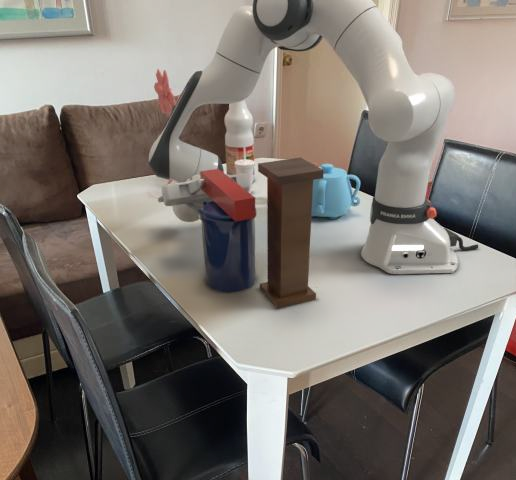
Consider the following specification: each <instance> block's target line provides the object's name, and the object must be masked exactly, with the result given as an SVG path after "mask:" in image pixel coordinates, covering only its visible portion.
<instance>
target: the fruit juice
mask: <svg viewBox="0 0 516 480" xmlns="http://www.w3.org/2000/svg"><path fill="white" fill-rule="evenodd" d="M253 125H254V117H253V115H252V113H251V111H250V110H249V108H248V105H247V103H246V99H244V100H242V101H240V102H237V103H231V104H229V108H228V110H227V112H226V114H225V115H224V126H225V130H226V132H225V135H224V148H225V167H226V168H225V169H226V175H236V174H237V173H236V167H235V166H234V165H235V161H237V160H243V159H244V147H245V152H246V159H247V160H253V161H254V162H255V139H254V138H255V137H254V133H253ZM255 175H256V174H255V170H254V171H253V181H252V183H253V182H254V181H255V177H256V176H255Z"/></svg>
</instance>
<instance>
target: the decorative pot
mask: <svg viewBox="0 0 516 480" xmlns="http://www.w3.org/2000/svg"><path fill="white" fill-rule="evenodd" d="M318 167H319V168H321V169H323V170H324V173H323V178H321V179H315V180H313V195H312V215H311V218H314V217H320V218H321V217H323V218H329V219H330V220H337V219H338V218H339V217H341V216H344V215H346V214H347V212H348V211H349V210H350V208H351V207H358V206H359V205H360V204H361V199H360V197H359V196H357V195H358V194H359V193H358V192H359V190H360V187H361V180H360V178H359V177H358V176H357V175H354V174H348V172H347V171H346V170H345V169H343V168H340V167H334V165H333V164H332V163H323V164H321V166H318ZM351 180H353V181H355V182H356V186H355V189H354V191H353V189H352V183H351ZM355 201H356V202H355Z"/></svg>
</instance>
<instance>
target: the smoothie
mask: <svg viewBox="0 0 516 480" xmlns="http://www.w3.org/2000/svg"><path fill="white" fill-rule="evenodd" d="M234 166H235V167H236V173H237V174H242V173H246V174H247V175H248V177H249V181H250V190H249V191H248V192H249V193H250V194H251V195H252V190H253V182H254V181H253V171H254V172H255V166H256V162H255V160H254V161H253V160H247V159H246V152H245V147H244V159H243V160H237V161H235V165H234ZM252 181H253V182H252Z"/></svg>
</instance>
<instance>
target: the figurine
mask: <svg viewBox="0 0 516 480" xmlns="http://www.w3.org/2000/svg"><path fill="white" fill-rule="evenodd" d="M155 77H156V80H157V81H156V82H154V85H153V89H154V92H156V94H157V99H158V102H157V103H156V104H155V106H154V108H157V107H158V106H159V108H160V112H161V113H162V114H163V115H164V114H165V112H166V114H167V115H168V117H170V115H171V113H172V111H173V108H172V104H173V105H174V106H175V105H176V103H177V101H178V99H179V97H180V95H181V93H182V92H183V90H182V92H181V93H179V95H178V97H177V99H176V100H175V96H174V95H175V94H174V93H173V92H172V88H171V87H170V83H169V82H170V80H169V77H168V72H167V71H166V69H163V72H161V70H160V69H159V68H157V69H156V73H155ZM190 118H191V116H190V117H189V119H190ZM172 182H174V181H173V180H170V179H169V180H168V179H167V183H166V185H168V184H172ZM149 196H150V197H153V198H155V199H157V200H158V198H159V197H155V196H153V195H152V194H151V193H149Z"/></svg>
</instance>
